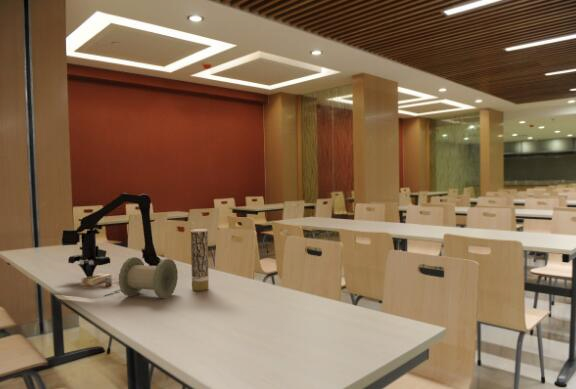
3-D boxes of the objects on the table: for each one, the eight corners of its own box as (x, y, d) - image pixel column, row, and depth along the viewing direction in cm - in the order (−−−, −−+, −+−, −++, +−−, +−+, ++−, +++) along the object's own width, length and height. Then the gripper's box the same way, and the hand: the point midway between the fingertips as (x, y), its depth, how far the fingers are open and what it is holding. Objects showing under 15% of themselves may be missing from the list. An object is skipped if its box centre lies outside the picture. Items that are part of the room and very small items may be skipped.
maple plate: (111, 279, 192) (111, 274, 192) (92, 285, 182) (92, 279, 182) (100, 278, 194) (100, 273, 194) (81, 284, 184) (81, 278, 184)
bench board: (132, 283, 191) (132, 272, 190) (108, 292, 177) (107, 280, 176) (97, 280, 197) (97, 269, 197) (71, 288, 183) (70, 276, 183)
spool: (177, 292, 175) (177, 256, 174) (157, 303, 160) (156, 263, 160) (142, 290, 179) (141, 254, 179) (119, 300, 165) (118, 261, 164)
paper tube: (204, 291, 175) (203, 231, 174) (189, 291, 176) (188, 230, 175) (211, 287, 182) (210, 229, 181) (196, 287, 183) (194, 228, 182)
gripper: (118, 242, 193) (119, 276, 194) (86, 240, 200) (87, 273, 200) (100, 246, 183) (101, 282, 183) (66, 244, 189) (68, 279, 190)
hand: (89, 279), depth 189 cm, fingers closed
